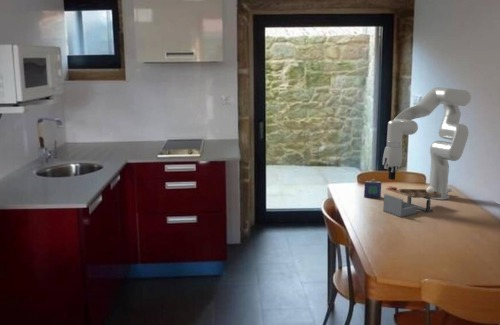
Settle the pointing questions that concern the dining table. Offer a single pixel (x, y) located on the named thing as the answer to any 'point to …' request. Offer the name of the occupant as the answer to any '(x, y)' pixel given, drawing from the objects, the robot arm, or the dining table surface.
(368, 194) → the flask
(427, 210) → the pivot stand
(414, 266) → the dining table surface
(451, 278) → the dining table surface
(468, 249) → the dining table surface
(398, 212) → the cup
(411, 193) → the brown flat piece
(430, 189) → the ball
